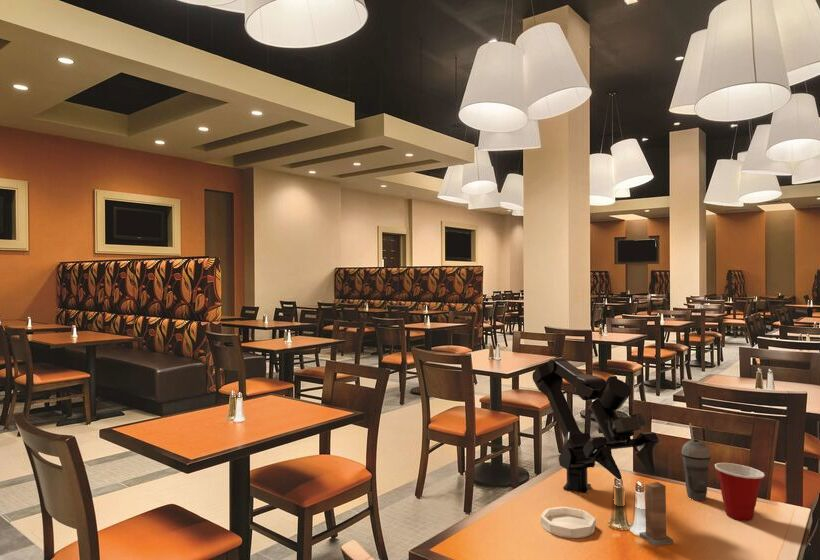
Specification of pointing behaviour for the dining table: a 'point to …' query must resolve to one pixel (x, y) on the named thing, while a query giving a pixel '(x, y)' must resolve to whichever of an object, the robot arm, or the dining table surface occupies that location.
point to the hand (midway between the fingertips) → (637, 476)
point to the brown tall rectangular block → (655, 515)
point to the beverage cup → (696, 467)
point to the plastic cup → (739, 489)
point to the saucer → (568, 522)
